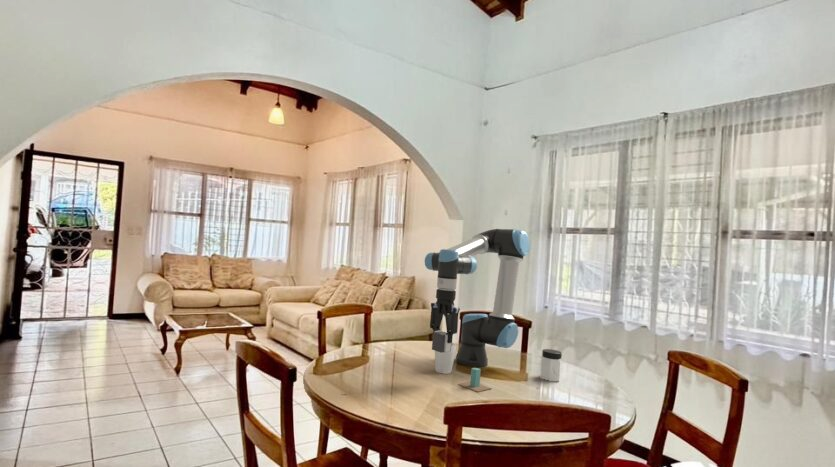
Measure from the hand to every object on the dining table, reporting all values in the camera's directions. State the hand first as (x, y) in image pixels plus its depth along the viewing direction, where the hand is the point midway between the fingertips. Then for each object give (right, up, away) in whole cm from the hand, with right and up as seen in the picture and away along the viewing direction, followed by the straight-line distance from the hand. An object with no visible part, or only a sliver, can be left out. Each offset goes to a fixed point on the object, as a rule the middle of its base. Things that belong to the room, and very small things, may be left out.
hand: (441, 349), depth 173 cm
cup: (+2, -15, +20) cm, 25 cm away
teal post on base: (+13, -15, +1) cm, 20 cm away
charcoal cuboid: (0, 0, 0) cm, 0 cm away
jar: (+49, -19, +23) cm, 57 cm away
